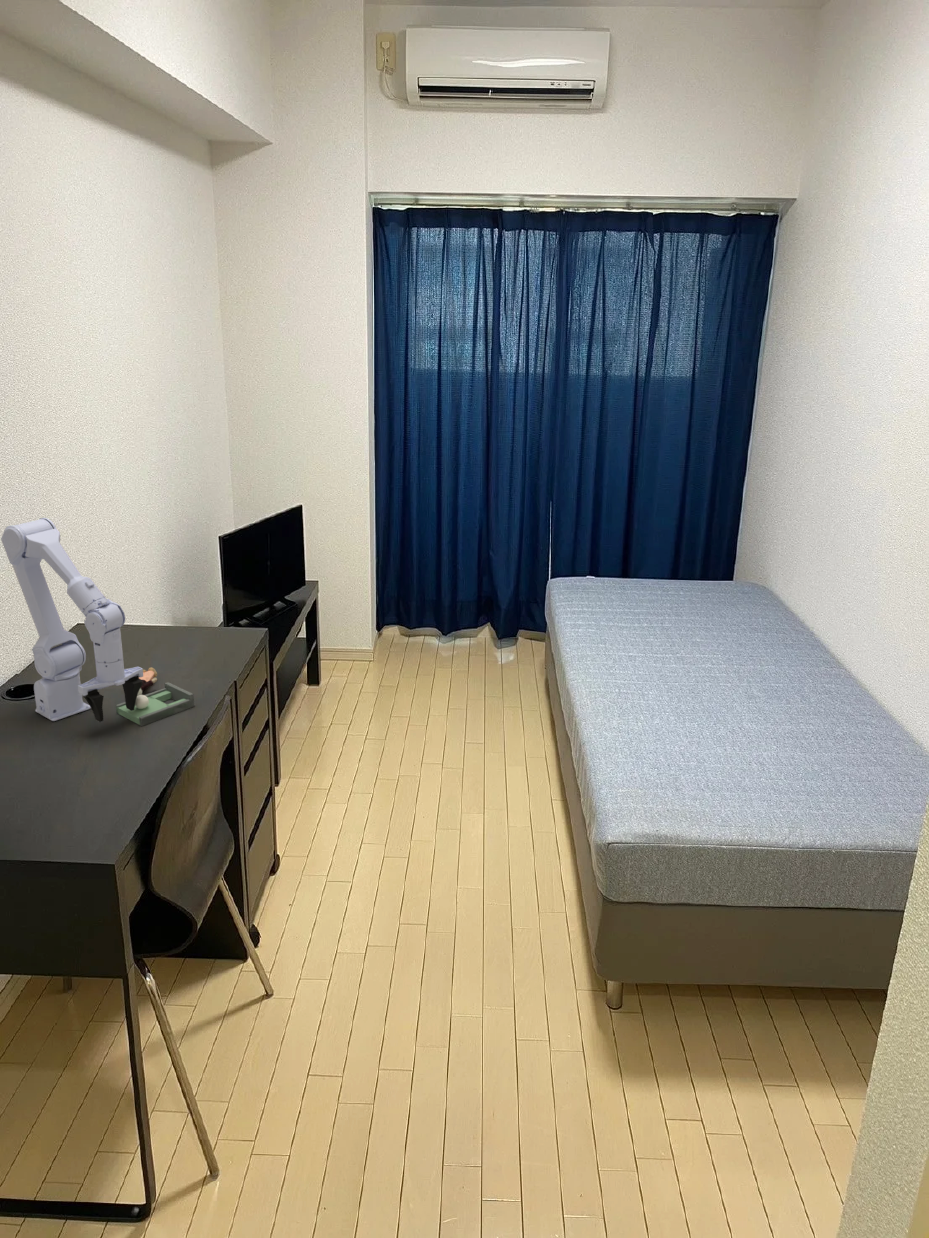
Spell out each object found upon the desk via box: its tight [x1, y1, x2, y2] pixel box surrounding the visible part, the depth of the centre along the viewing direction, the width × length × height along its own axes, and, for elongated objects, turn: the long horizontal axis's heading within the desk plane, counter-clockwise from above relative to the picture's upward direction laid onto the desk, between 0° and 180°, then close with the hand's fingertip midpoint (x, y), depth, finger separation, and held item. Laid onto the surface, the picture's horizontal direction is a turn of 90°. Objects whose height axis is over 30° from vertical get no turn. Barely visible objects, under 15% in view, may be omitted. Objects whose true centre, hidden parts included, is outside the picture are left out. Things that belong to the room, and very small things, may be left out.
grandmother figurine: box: [137, 667, 158, 696], centre depth 220 cm, size 8×4×13 cm
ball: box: [135, 694, 149, 709], centre depth 207 cm, size 3×3×3 cm
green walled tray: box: [115, 681, 195, 727], centre depth 210 cm, size 14×10×3 cm
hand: (115, 714), depth 202 cm, fingers open, 7 cm apart
